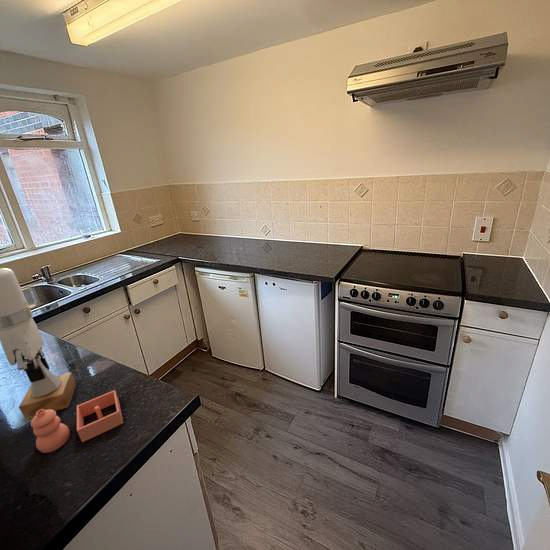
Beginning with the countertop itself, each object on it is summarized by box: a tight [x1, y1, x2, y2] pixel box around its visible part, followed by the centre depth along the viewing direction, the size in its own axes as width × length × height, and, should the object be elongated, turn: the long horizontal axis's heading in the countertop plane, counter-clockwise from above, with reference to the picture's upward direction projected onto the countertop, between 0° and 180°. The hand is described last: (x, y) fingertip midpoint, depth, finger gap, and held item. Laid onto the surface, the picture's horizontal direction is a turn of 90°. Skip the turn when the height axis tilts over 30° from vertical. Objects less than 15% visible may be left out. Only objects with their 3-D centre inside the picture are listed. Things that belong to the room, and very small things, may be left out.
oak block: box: [18, 371, 77, 421], centre depth 84 cm, size 10×10×5 cm
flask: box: [26, 355, 62, 398], centre depth 82 cm, size 7×7×10 cm
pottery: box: [30, 389, 124, 454], centre depth 73 cm, size 18×10×10 cm, turn 123°
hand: (40, 375), depth 82 cm, fingers closed on flask, 3 cm apart
